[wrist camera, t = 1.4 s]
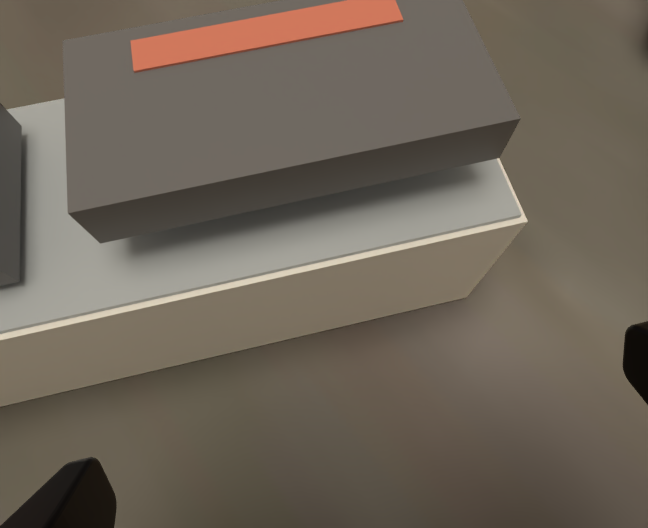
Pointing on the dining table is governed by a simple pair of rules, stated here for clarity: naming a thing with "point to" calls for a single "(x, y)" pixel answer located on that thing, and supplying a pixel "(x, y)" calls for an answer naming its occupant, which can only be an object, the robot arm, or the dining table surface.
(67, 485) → the robot arm
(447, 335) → the dining table surface
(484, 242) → the switch block
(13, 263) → the key
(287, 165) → the key
